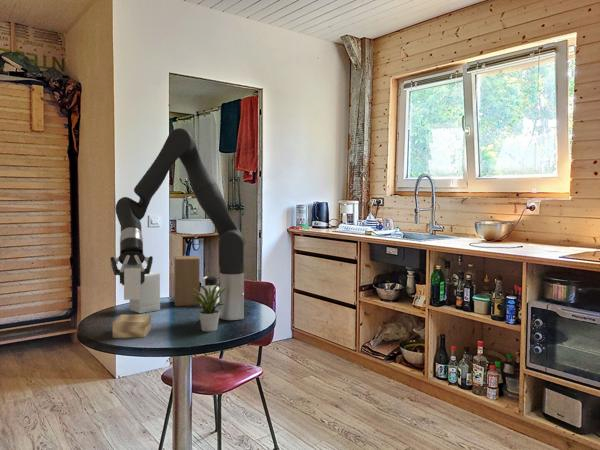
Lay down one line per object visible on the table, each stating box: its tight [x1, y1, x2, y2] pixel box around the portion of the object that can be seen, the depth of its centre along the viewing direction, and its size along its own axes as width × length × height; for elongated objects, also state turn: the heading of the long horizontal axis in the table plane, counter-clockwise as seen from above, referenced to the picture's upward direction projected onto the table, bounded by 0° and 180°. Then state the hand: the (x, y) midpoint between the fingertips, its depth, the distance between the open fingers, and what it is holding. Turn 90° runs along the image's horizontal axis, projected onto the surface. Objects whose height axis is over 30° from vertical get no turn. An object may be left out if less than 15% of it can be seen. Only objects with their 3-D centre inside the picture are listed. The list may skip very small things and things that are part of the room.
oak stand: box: [112, 313, 152, 339], centre depth 156 cm, size 10×10×5 cm
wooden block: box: [173, 255, 201, 307], centre depth 201 cm, size 10×10×20 cm
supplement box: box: [129, 271, 161, 314], centre depth 188 cm, size 9×9×15 cm
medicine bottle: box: [199, 275, 219, 307], centre depth 200 cm, size 7×7×12 cm
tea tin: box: [123, 264, 141, 301], centre depth 155 cm, size 5×5×11 cm
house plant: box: [192, 283, 229, 332], centre depth 162 cm, size 14×14×16 cm
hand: (132, 283), depth 153 cm, fingers closed on tea tin, 5 cm apart
